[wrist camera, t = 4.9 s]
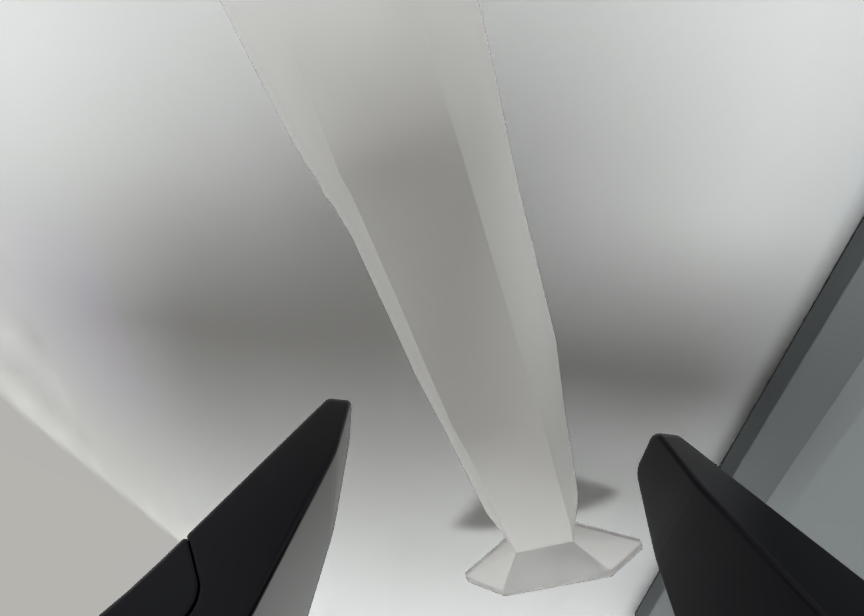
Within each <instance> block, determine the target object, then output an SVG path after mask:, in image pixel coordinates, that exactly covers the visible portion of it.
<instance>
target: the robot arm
mask: <svg viewBox="0 0 864 616" xmlns="http://www.w3.org/2000/svg"><path fill="white" fill-rule="evenodd" d="M350 422H351V403H350V401H348V400H339V399H328V400H326V401H325V402H324V403H323V404H322V405H321V406H320V407H319V408H318V409H317V410H316V411H315V412H314V413H312V414H311V415H310V416H309V417H308V418H307V419H306V420H305V421H304V422H303V423H302V424H301V425H300V426H299V427H298V428H297V429H296V430H295V431H294V432H293V433H292V434H291V435H290V436H289V437H288V438H287V439H286V440H285V441H284V442H283V443H282V444H281V445H280V446H279V447H278V448H277V449H275V450H274V451H273V452H272V453H271V454H270V455H269V456H268V457H267V458H266V459H265V460H264V461H263V462H262V463H261V464H260V465H259V466H258V467H257V468H256V469H255V470H254V471H253V472H252V473H251V474H250V475H249V476H248V477H247V478H246V479H245V480H244V481H243V482H242V483H241V484H239V485H238V486H237V487H236V488H235V489H234V490H233V491H232V492H231V493H230V494H229V495H228V496H227V497H226V498H225V499H224V500H223V501H222V502H221V503H220V504H219V505H218V506H217V507H216V508H215V509H214V510H213V511H212V512H211V513H210V514H209V515H208V516H207V517H206V518H205V519H204V520H202V521H201V522H200V523H199V524H198V525H197V526H196V527H195V528H194V529H193V530H192V531H191V532H190V533H189V534H188V536H187V539H188V540H187V539H183V540H181V541H180V542H179V543H178V544H177V546H175V547H174V548H173V549H172V550H171V551H170V552H169V553H168V554H167V555H166V556H165V557H164V558H163V559H162V560H161V561H160V562H159V563H158V564H157V565H156V566H155V567H153V568H152V569H151V570H150V571H149V572H148V573H147V574H146V575H145V576H144V577H143V578H142V579H140V580H139V581H138V582H137V583H136V584H135V585H134V586H133V587H132V588H131V589H130V590H128V591H127V592H126V593H125V594H124V595H123V596H121V598H119V599H118V600H117V601H116V602H114V603H113V604H112V605H111V606H110V607H108V608H107V609H106V610H105V611H104V612H103V613H101V614H100V615H99V616H308V614H309V611H310V608H311V604H312V601H313V598H314V594H315V591H316V588H317V584H318V581H319V578H320V574H321V571H322V568H323V564H324V561H325V558H326V554H327V551H328V548H329V544H330V541H331V537H332V533H333V530H334V525H335V520H336V515H337V509H338V504H339V498H340V492H341V486H342V481H343V475H344V469H345V463H346V458H347V452H348V446H349V437H350ZM637 474H638V482H639V486H640V491H641V495H642V500H643V504H644V509H645V513H646V518H647V522H648V527H649V531H650V536H651V540H652V545H653V549H654V553H655V557H656V560H657V564H658V567H659V570H660V573H661V576H662V579H663V582H664V585H665V588H666V591H667V594H668V597H669V600H670V603H671V606H672V609H673V612H674V615H675V616H864V580H863V579H862V578H861V577H859V576H858V575H857V574H855V573H854V572H853V571H852V570H850V569H849V568H848V567H846V566H845V565H844V564H843V563H841V562H840V561H839V560H837V559H836V558H835V557H834V556H832V555H831V554H830V553H829V552H827V551H826V550H825V549H823V548H822V547H821V546H820V545H818V544H817V543H816V542H814V541H813V540H812V539H811V538H809V537H808V536H807V535H805V534H804V533H803V532H802V531H800V530H799V529H798V528H796V527H795V526H794V525H793V524H791V523H790V522H789V521H787V520H786V519H785V518H784V517H782V516H781V515H780V514H778V513H777V512H776V511H775V510H773V509H772V508H771V507H770V506H768V505H767V504H766V503H764V502H763V501H762V500H761V499H759V498H758V497H757V496H755V495H754V494H753V493H752V492H750V491H749V490H748V489H746V488H745V487H744V486H743V485H741V484H740V483H739V482H737V481H736V480H735V479H734V478H732V477H731V476H730V475H728V474H727V473H726V472H725V471H723V470H722V469H721V468H719V467H718V466H717V465H716V464H714V463H713V462H712V461H710V460H709V459H708V458H707V457H705V456H704V455H703V454H702V453H700V452H699V451H698V450H696V449H695V448H694V447H693V446H691V445H690V444H689V443H687V442H686V441H685V440H684V439H682V438H681V437H679V436H676V435H669V434H660V433H659V434H655V435H654V436H652V438H651V439H650V441H649V444H648V446H647V448H646V450H645V452H644V454H643V456H642V459H641V461H640V463H639V466H638V473H637Z"/></svg>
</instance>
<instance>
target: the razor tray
mask: <svg viewBox="0 0 864 616" xmlns="http://www.w3.org/2000/svg"><path fill="white" fill-rule="evenodd" d="M720 468H721V469H722V470H723V471H725V472H726V473H727V474H728V475H730V476H731V477H732V478H734V479H735V480H736V481H737V482H739V483H740V484H741V485H743V486H744V487H745V488H746V489H748V490H749V491H750V492H752V493H753V494H754V495H755V496H757V497H758V498H759V499H761V500H762V501H763V502H764V503H766V504H767V505H768V506H770V507H771V508H772V509H773V510H775V511H776V512H777V513H778V514H780V515H781V516H782V517H784V518H785V519H786V520H787V521H789V522H790V523H791V524H793V525H794V526H795V527H796V528H798V529H799V530H800V531H802V532H803V533H804V534H805V535H807V536H808V537H809V538H811V539H812V540H813V541H814V542H816V543H817V544H818V545H820V546H821V547H822V548H823V549H825V550H826V551H827V552H829V553H830V554H831V555H832V556H834V557H835V558H836V559H837V560H839V561H840V562H841V563H843V564H844V565H845V566H846V567H848V568H849V569H850V570H852V571H853V572H854V573H855V574H857V575H858V576H859V577H861V578H862V579H863V580H864V218H863V220H862V222H861V224H860V225H859V227H858V229H857V231H856V232H855V234H854V236H853V238H852V239H851V241H850V243H849V244H848V246H847V248H846V250H845V251H844V253H843V255H842V257H841V258H840V260H839V262H838V263H837V265H836V267H835V269H834V270H833V272H832V274H831V276H830V277H829V279H828V281H827V283H826V284H825V286H824V288H823V289H822V291H821V293H820V295H819V296H818V298H817V300H816V302H815V303H814V305H813V307H812V309H811V310H810V312H809V314H808V315H807V317H806V319H805V321H804V322H803V324H802V326H801V328H800V329H799V331H798V333H797V335H796V336H795V338H794V340H793V341H792V343H791V345H790V347H789V348H788V350H787V352H786V354H785V355H784V357H783V359H782V361H781V362H780V364H779V366H778V367H777V369H776V371H775V373H774V374H773V376H772V378H771V380H770V381H769V383H768V385H767V386H766V388H765V390H764V392H763V393H762V395H761V397H760V399H759V400H758V402H757V404H756V406H755V407H754V409H753V411H752V412H751V414H750V416H749V418H748V419H747V421H746V423H745V425H744V426H743V428H742V430H741V432H740V433H739V435H738V437H737V438H736V440H735V442H734V444H733V445H732V447H731V449H730V451H729V452H728V454H727V456H726V458H725V459H724V461H723V463H722V464H721V466H720ZM635 616H675V615H674V612H673V609H672V606H671V603H670V600H669V597H668V594H667V591H666V588H665V585H664V582H663V579H662V576H661V573H660V572H659V574H658V575H657V577H656V579H655V581H654V582H653V584H652V586H651V587H650V589H649V591H648V593H647V594H646V596H645V598H644V600H643V601H642V603H641V605H640V607H639V608H638V610H637V612H636V613H635Z"/></svg>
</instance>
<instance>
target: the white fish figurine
mask: <svg viewBox="0 0 864 616" xmlns="http://www.w3.org/2000/svg"><path fill="white" fill-rule="evenodd" d="M220 1H221V3H222V5H223V7H224V9H225V11H226V13H227V15H228V17H229V19H230V21H231V23H232V25H233V27H234V29H235V31H236V33H237V35H238V37H239V39H240V41H241V43H242V45H243V47H244V49H245V51H246V53H247V55H248V57H249V59H250V60H251V62H252V64H253V66H254V68H255V70H256V72H257V74H258V76H259V78H260V80H261V82H262V84H263V86H264V87H265V89H266V91H267V93H268V95H269V97H270V99H271V101H272V103H273V105H274V107H275V109H276V111H277V113H278V114H279V116H280V118H281V120H282V122H283V124H284V126H285V128H286V130H287V132H288V134H289V136H290V138H291V140H292V141H293V143H294V145H295V147H296V148H297V150H298V152H299V153H300V155H301V157H302V158H303V160H304V161H305V163H306V165H307V166H308V168H309V170H310V171H311V172H312V174H313V175H314V177H315V178H316V179H317V181H318V182H319V183H320V186H321V189H322V192H323V195H324V196H325V197H326V198H327V199H328V200H329V201H330V202H331V203H332V205H333V206H334V208H335V210H336V211H337V213H338V215H339V216H340V218H341V219H342V221H343V223H344V224H345V226H346V228H347V229H348V231H349V233H350V234H351V236H352V238H353V240H354V243H355V245H356V247H357V249H358V251H359V253H360V256H361V258H362V260H363V262H364V264H365V266H366V268H367V271H368V273H369V275H370V277H371V279H372V281H373V284H374V286H375V288H376V290H377V292H378V294H379V296H380V299H381V301H382V303H383V305H384V307H385V309H386V312H387V314H388V316H389V318H390V320H391V322H392V325H393V327H394V329H395V331H396V333H397V336H398V338H399V340H400V342H401V344H402V347H403V349H404V351H405V353H406V355H407V357H408V360H409V362H410V364H411V366H412V368H413V371H414V373H415V375H416V377H417V379H418V381H419V383H420V385H421V387H422V388H423V390H424V392H425V394H426V396H427V398H428V400H429V402H430V403H431V405H432V407H433V409H434V411H435V413H436V415H437V417H438V419H439V420H440V422H441V424H442V426H443V428H444V430H445V432H446V434H447V436H448V438H449V440H450V442H451V444H452V446H453V448H454V450H455V452H456V454H457V456H458V458H459V460H460V462H461V464H462V466H463V468H464V470H465V472H466V474H467V476H468V478H469V480H470V482H471V484H472V486H473V488H474V490H475V492H476V494H477V496H478V497H479V499H480V501H481V503H482V505H483V507H484V509H485V511H486V513H487V515H488V516H489V517H490V518H491V520H492V521H493V522H494V523H495V525H496V526H497V527H498V529H499V530H500V531H501V532H502V534H503V535H504V536H505V538H504V539H503V540H502V541H501V542H500V543H499V544H498V545H496V546H495V547H494V548H493V549H492V550H491V551H490V552H488V553H487V554H486V555H485V556H484V557H483V558H482V559H481V560H479V561H478V562H477V563H476V564H475V565H474V566H473V567H472V568H470V569H469V570H468V571H467V572H466V573H465V574H466V578H467V580H468V582H470V583H473V584H475V585H478V586H480V587H483V588H485V589H488V590H491V591H493V592H496V593H498V594H501V595H503V596H508V595H513V594H519V593H524V592H530V591H535V590H541V589H546V588H552V587H557V586H563V585H568V584H574V583H579V582H585V581H590V580H596V579H601V578H607V577H612V576H613V575H614V574H615V573H616V572H617V571H619V570H620V569H621V568H622V567H623V566H624V565H625V564H626V563H627V562H628V561H630V560H631V559H632V558H633V557H634V556H635V555H636V554H637V553H638V552H640V551H641V550H642V544H641V541H640V539H637V538H633V537H629V536H626V535H622V534H618V533H614V532H611V531H607V530H603V529H599V528H596V527H592V526H588V525H585V524H581V523H577V522H575V519H576V513H577V501H578V491H577V484H576V478H575V471H574V465H573V458H572V452H571V446H570V439H569V433H568V426H567V420H566V413H565V407H564V400H563V392H562V384H561V376H560V368H559V360H558V352H557V344H556V338H555V334H554V330H553V326H552V322H551V318H550V314H549V310H548V306H547V301H546V297H545V293H544V289H543V285H542V281H541V277H540V273H539V269H538V264H537V260H536V256H535V252H534V248H533V244H532V240H531V236H530V232H529V227H528V223H527V219H526V215H525V211H524V207H523V203H522V199H521V194H520V190H519V186H518V182H517V177H516V173H515V168H514V163H513V158H512V154H511V149H510V144H509V137H508V132H507V128H506V124H505V120H504V115H503V110H502V105H501V100H500V95H499V90H498V85H497V81H496V76H495V71H494V67H493V63H492V58H491V54H490V50H489V45H488V41H487V37H486V32H485V28H484V24H483V19H482V15H481V10H480V6H479V2H478V0H220Z"/></svg>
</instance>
